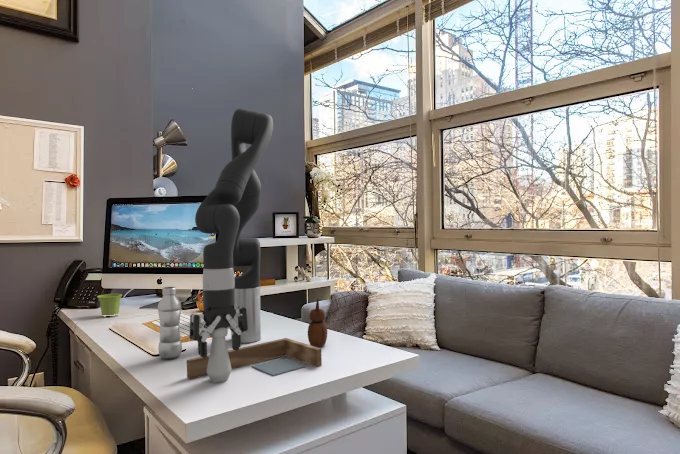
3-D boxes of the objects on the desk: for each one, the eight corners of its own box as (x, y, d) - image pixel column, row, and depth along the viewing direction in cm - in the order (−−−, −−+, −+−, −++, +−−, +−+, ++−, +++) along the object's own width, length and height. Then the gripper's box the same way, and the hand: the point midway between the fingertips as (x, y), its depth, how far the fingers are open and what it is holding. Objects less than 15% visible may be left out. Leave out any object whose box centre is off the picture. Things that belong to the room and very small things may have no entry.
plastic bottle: (159, 362, 127) (158, 290, 127) (157, 356, 133) (155, 287, 133) (184, 359, 130) (182, 288, 130) (180, 353, 136) (179, 285, 136)
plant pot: (92, 318, 188) (91, 297, 188) (107, 313, 198) (107, 293, 197) (113, 318, 187) (112, 297, 187) (127, 314, 196) (127, 293, 196)
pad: (251, 367, 122) (251, 366, 122) (282, 359, 128) (282, 358, 128) (273, 376, 114) (273, 374, 114) (305, 367, 121) (305, 366, 121)
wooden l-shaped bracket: (187, 377, 114) (186, 359, 114) (286, 353, 134) (285, 337, 134) (218, 395, 102) (217, 375, 102) (321, 365, 122) (321, 348, 122)
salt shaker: (209, 376, 115) (208, 324, 115) (232, 375, 115) (232, 323, 115) (204, 384, 109) (203, 329, 109) (229, 383, 109) (228, 329, 109)
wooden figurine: (324, 348, 138) (323, 299, 138) (305, 348, 139) (305, 298, 139) (329, 343, 145) (328, 295, 145) (311, 342, 146) (311, 295, 146)
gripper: (236, 282, 119) (237, 345, 119) (183, 288, 110) (185, 356, 110) (252, 285, 114) (253, 350, 114) (198, 291, 104) (199, 362, 104)
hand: (219, 353), depth 112 cm, fingers open, 8 cm apart
